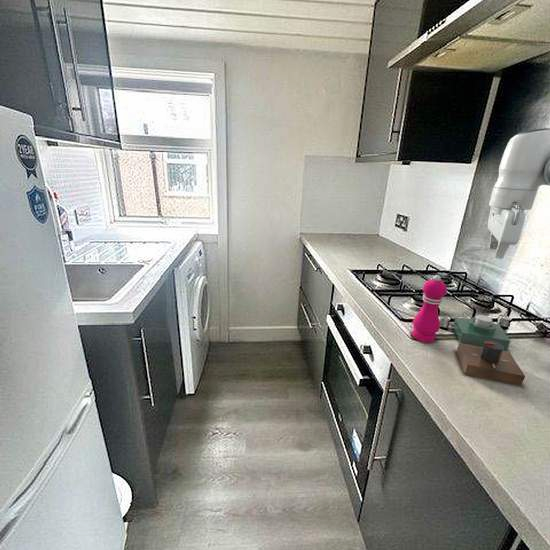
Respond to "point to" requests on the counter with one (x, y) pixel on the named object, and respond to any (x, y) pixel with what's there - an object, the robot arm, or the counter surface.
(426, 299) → the pepper mill
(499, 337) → the dispenser
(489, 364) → the lock base
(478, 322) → the pump
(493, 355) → the lock dial
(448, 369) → the counter surface
